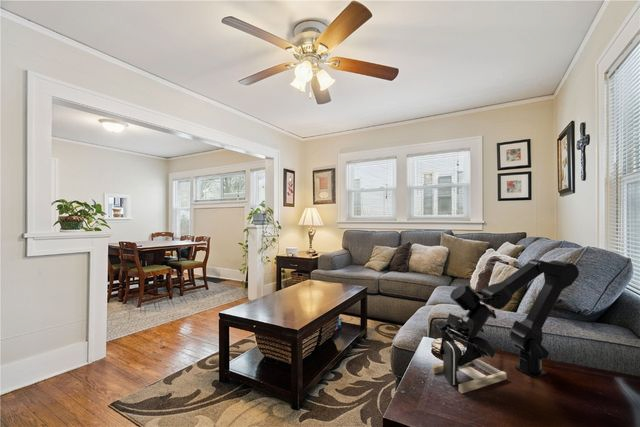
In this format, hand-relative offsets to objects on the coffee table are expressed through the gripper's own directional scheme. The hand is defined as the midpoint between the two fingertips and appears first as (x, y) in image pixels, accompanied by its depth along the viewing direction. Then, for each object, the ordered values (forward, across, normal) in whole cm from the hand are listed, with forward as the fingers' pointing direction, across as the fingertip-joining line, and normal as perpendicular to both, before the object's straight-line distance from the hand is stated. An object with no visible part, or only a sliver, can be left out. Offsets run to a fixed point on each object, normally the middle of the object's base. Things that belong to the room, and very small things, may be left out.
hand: (449, 359), depth 93 cm
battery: (+4, 0, +6) cm, 7 cm away
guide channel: (-1, 0, +11) cm, 11 cm away
